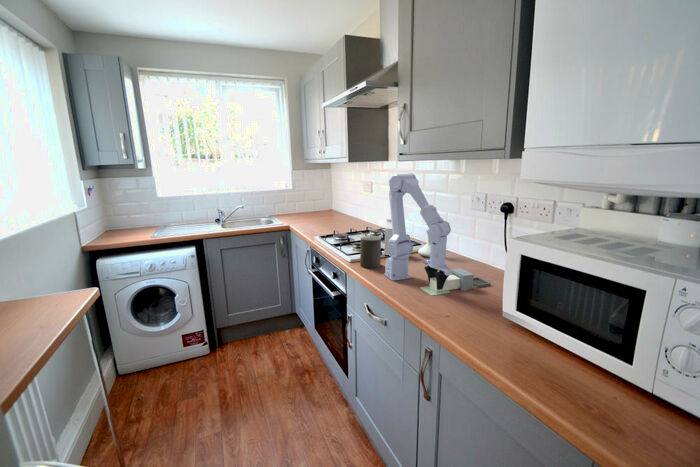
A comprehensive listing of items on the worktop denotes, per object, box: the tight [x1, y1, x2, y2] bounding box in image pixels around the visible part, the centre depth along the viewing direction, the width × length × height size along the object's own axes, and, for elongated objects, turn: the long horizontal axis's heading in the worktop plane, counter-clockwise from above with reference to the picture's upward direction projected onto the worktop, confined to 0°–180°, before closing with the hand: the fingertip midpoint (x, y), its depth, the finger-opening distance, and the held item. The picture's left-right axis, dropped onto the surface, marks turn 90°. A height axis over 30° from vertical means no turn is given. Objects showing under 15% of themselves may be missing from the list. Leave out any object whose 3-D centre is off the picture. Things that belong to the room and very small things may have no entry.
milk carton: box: [383, 219, 401, 257], centre depth 168 cm, size 7×7×19 cm
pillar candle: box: [359, 235, 382, 270], centre depth 151 cm, size 10×10×15 cm
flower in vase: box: [417, 228, 431, 258], centre depth 166 cm, size 13×11×25 cm
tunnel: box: [449, 267, 475, 291], centre depth 127 cm, size 5×8×6 cm, turn 20°
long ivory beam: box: [429, 274, 461, 292], centre depth 125 cm, size 12×4×4 cm, turn 110°
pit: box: [473, 276, 491, 288], centre depth 130 cm, size 6×7×1 cm
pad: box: [419, 285, 451, 297], centre depth 124 cm, size 8×8×1 cm
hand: (435, 286), depth 124 cm, fingers closed on long ivory beam, 4 cm apart
